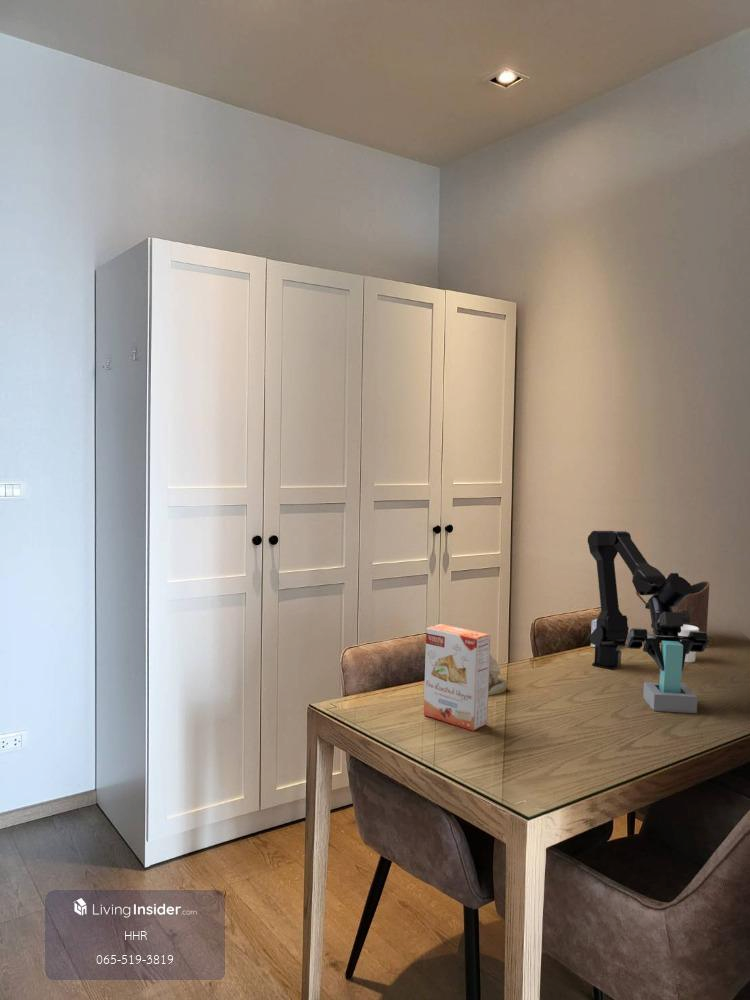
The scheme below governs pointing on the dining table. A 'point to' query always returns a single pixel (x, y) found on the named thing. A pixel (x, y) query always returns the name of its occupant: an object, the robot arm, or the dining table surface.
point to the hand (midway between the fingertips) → (672, 670)
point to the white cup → (685, 632)
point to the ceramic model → (495, 678)
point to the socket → (670, 699)
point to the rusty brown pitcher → (695, 605)
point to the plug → (671, 667)
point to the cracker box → (457, 676)
